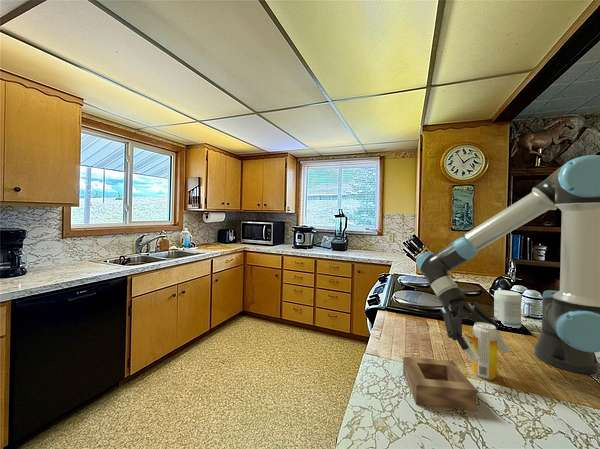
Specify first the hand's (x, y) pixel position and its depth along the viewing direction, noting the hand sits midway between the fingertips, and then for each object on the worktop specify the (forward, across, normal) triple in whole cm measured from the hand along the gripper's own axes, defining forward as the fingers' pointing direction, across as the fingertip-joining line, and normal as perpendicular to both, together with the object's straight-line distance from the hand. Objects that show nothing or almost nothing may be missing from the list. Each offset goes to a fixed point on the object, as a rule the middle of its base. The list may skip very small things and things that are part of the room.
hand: (492, 356), depth 79 cm
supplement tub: (-13, -49, -22) cm, 55 cm away
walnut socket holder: (+3, +20, -6) cm, 21 cm away
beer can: (+3, 0, -6) cm, 7 cm away
